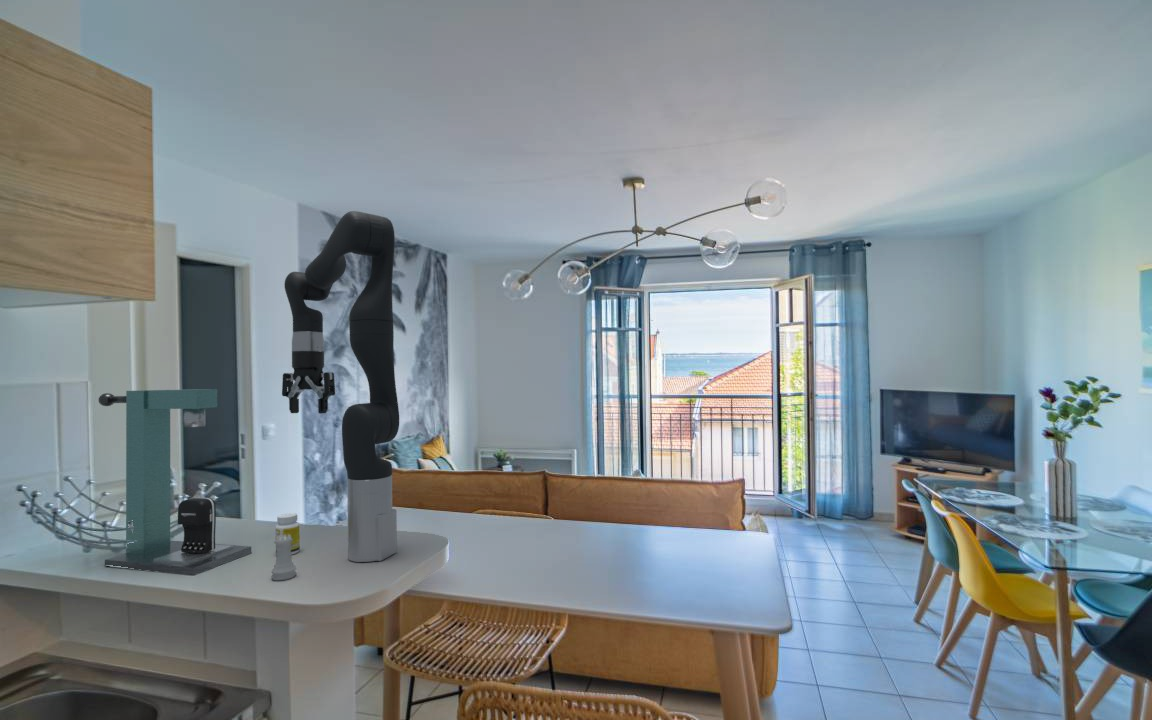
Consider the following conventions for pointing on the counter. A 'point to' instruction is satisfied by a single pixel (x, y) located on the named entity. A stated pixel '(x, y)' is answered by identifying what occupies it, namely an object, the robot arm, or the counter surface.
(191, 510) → the battery
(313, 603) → the counter surface
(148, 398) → the arbor press
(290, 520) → the supplement bottle
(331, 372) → the robot arm
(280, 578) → the rook chess piece
